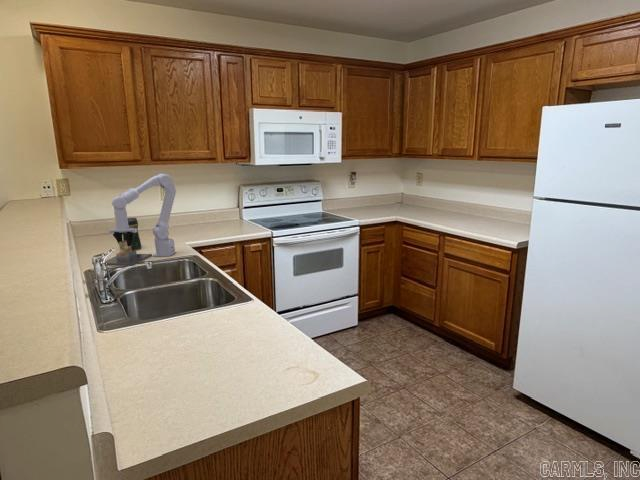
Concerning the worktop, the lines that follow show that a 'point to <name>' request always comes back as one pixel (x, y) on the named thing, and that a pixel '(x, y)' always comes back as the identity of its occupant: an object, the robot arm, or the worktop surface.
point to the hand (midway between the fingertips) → (125, 246)
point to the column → (124, 248)
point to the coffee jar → (135, 239)
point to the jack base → (128, 259)
